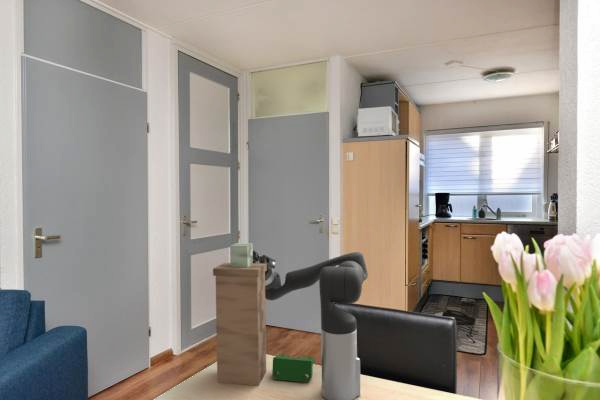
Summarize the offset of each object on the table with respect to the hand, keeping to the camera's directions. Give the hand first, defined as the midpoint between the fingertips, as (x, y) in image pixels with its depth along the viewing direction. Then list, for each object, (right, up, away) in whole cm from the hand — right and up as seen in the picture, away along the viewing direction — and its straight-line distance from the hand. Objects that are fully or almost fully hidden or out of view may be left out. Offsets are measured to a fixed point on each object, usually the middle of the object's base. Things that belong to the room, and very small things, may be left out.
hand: (248, 253), depth 117 cm
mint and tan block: (0, -3, -1) cm, 3 cm away
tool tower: (-1, -35, -6) cm, 35 cm away
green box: (+14, -35, -6) cm, 38 cm away
